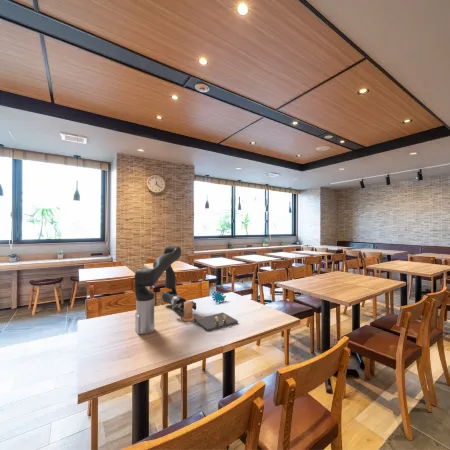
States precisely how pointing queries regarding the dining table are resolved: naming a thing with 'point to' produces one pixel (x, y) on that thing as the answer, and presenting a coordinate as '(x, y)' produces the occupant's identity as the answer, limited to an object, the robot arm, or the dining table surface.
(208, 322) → the base plate
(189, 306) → the orange flanged cylinder
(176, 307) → the robot arm
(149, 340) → the dining table surface
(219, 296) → the teal spiky virus model
